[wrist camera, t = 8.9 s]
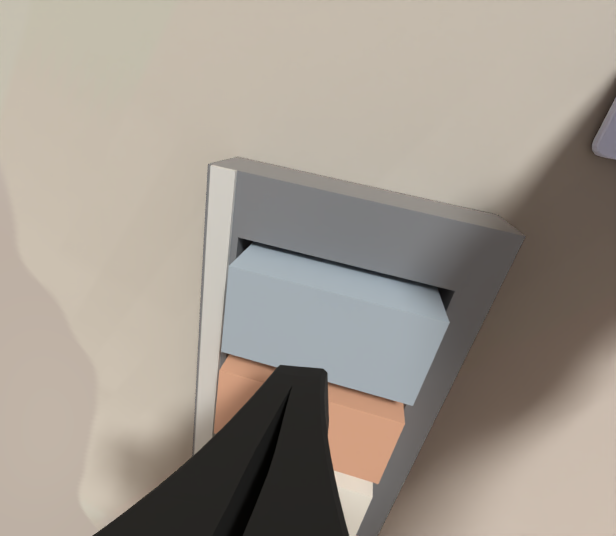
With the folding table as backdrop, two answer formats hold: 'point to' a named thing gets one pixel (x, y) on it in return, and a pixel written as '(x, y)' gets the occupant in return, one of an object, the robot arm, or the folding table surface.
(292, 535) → the robot arm
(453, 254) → the grey shallow tray
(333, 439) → the terracotta key
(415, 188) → the folding table surface
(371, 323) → the slate key
